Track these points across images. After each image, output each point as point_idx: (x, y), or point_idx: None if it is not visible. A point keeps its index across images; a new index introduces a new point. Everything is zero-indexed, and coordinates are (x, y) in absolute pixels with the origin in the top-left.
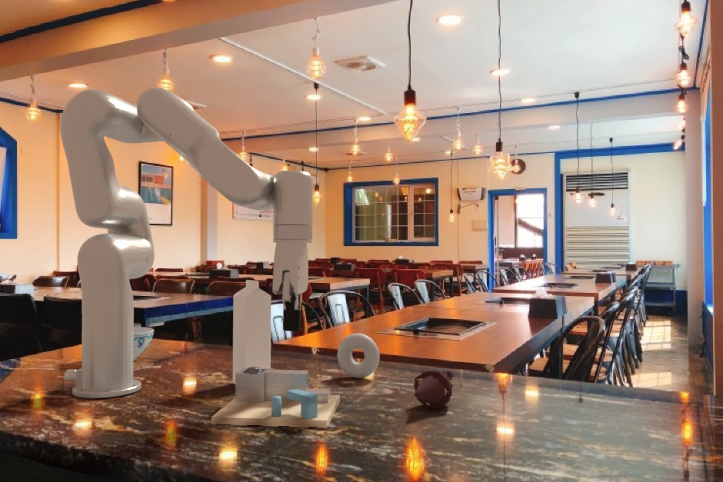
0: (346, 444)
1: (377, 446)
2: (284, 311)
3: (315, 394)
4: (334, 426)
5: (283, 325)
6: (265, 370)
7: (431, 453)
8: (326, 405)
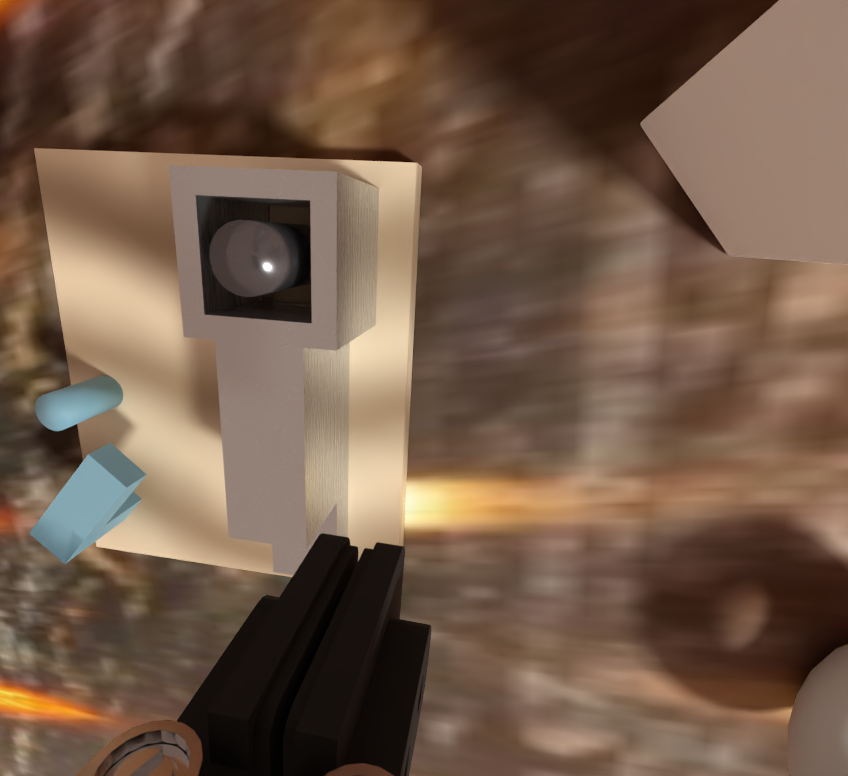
0: (12, 576)
1: (20, 638)
2: (223, 706)
3: (66, 557)
4: (134, 553)
5: (302, 561)
6: (279, 327)
7: (14, 727)
8: (252, 546)
